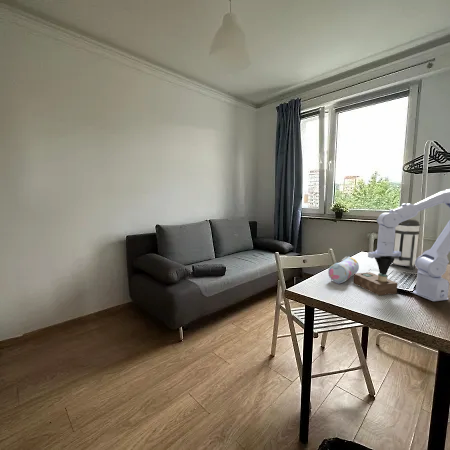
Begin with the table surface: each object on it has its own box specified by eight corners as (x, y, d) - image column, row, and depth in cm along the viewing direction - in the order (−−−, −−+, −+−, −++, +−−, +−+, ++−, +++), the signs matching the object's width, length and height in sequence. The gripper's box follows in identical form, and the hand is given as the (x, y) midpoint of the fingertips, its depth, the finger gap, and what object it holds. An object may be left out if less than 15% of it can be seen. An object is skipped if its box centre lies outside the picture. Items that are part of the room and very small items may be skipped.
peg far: (372, 285, 107) (372, 276, 107) (366, 285, 107) (366, 276, 106) (366, 282, 110) (367, 273, 110) (360, 283, 110) (361, 274, 109)
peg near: (388, 285, 99) (389, 275, 99) (382, 285, 98) (382, 276, 98) (381, 282, 102) (382, 272, 102) (375, 282, 101) (376, 273, 101)
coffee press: (378, 262, 145) (383, 213, 141) (405, 262, 144) (410, 213, 140) (398, 271, 128) (403, 215, 124) (428, 271, 127) (435, 215, 123)
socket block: (396, 293, 99) (397, 283, 98) (378, 295, 97) (379, 284, 96) (369, 281, 112) (370, 272, 112) (353, 282, 110) (353, 273, 110)
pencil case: (341, 271, 127) (342, 254, 126) (359, 275, 121) (360, 257, 120) (326, 282, 112) (327, 262, 111) (346, 286, 106) (347, 266, 105)
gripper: (391, 239, 103) (388, 269, 105) (363, 240, 100) (360, 271, 102) (407, 242, 97) (403, 274, 98) (377, 244, 93) (374, 277, 95)
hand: (382, 273), depth 100 cm, fingers closed
